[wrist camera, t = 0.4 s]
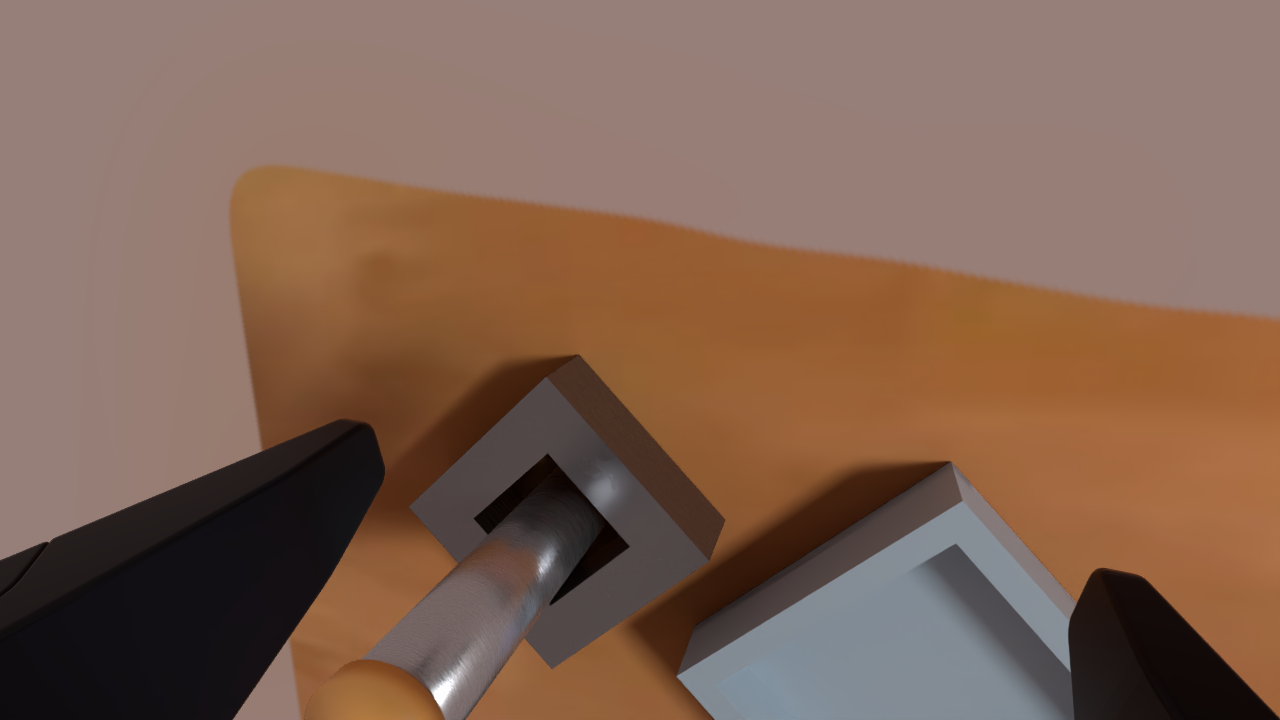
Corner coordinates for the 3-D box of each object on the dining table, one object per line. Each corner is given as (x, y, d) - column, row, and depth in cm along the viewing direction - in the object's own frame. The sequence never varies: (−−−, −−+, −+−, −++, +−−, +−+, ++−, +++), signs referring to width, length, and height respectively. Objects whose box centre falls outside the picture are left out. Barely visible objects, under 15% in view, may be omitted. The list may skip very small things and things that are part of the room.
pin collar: (580, 622, 30) (551, 669, 27) (450, 475, 30) (408, 506, 27) (725, 520, 26) (709, 560, 24) (579, 354, 27) (546, 376, 24)
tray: (891, 849, 28) (895, 924, 25) (694, 626, 28) (676, 676, 25) (1188, 729, 23) (1231, 804, 21) (950, 461, 23) (962, 500, 21)
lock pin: (580, 549, 29) (374, 828, 17) (526, 487, 29) (280, 721, 17) (636, 505, 27) (457, 774, 15) (579, 440, 27) (355, 658, 15)
